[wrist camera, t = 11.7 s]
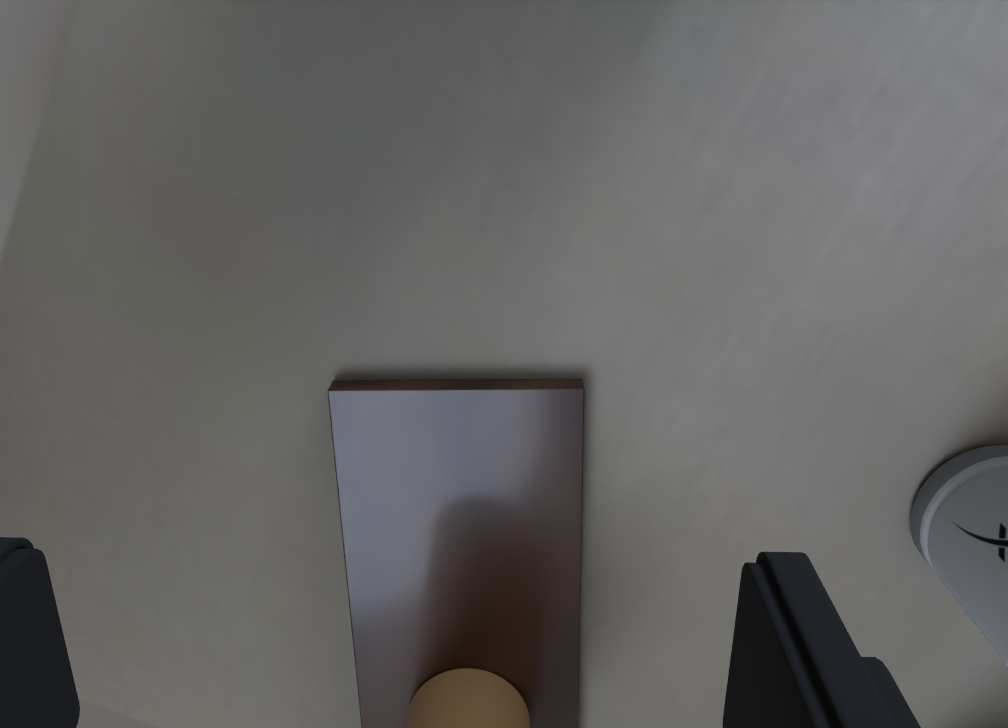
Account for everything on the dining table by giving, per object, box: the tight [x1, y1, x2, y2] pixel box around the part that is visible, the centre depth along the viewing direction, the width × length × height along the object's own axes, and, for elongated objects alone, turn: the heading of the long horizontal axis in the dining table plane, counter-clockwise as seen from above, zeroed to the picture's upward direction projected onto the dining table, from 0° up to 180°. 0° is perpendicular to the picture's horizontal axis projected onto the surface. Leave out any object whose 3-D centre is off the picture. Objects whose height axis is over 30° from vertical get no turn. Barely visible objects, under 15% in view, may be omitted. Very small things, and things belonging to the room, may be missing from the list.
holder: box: [328, 379, 584, 728], centre depth 37 cm, size 10×19×1 cm, turn 1°
